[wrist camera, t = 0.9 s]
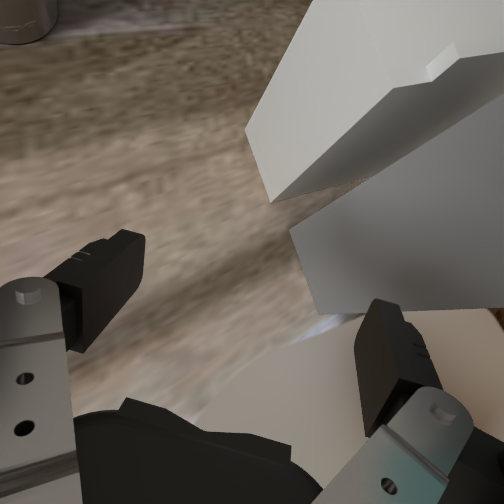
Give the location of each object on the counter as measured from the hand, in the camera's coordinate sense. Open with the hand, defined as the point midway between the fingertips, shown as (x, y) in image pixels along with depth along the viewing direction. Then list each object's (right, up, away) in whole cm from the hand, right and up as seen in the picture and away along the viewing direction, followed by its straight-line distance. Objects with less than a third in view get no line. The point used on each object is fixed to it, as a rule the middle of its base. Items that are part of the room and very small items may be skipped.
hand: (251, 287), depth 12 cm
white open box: (+7, +13, +31) cm, 34 cm away
